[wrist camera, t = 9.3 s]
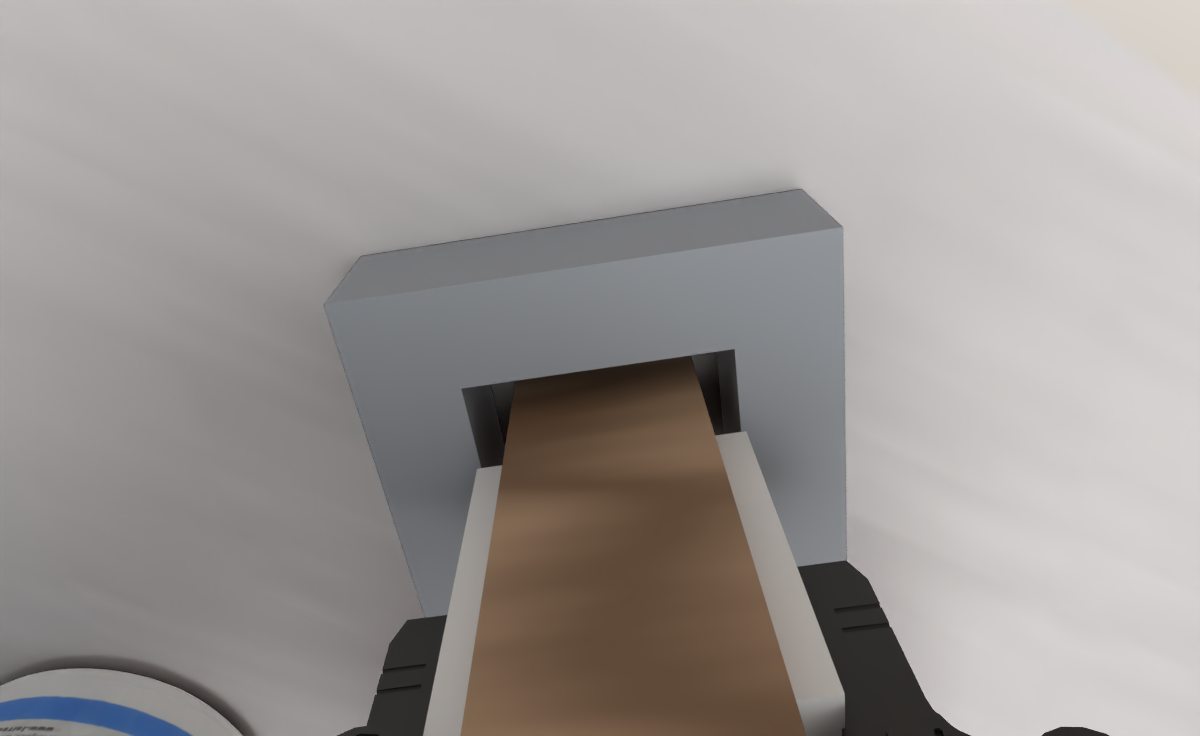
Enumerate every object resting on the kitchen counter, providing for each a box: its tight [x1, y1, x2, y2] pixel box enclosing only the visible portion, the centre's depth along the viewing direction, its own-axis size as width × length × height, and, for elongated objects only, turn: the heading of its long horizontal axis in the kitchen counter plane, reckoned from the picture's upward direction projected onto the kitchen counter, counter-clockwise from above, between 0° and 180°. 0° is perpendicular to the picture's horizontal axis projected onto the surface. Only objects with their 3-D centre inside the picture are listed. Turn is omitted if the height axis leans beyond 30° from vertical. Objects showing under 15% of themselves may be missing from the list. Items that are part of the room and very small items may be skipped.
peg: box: [460, 355, 807, 736], centre depth 14 cm, size 4×4×12 cm
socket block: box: [324, 189, 847, 618], centre depth 19 cm, size 10×10×3 cm
